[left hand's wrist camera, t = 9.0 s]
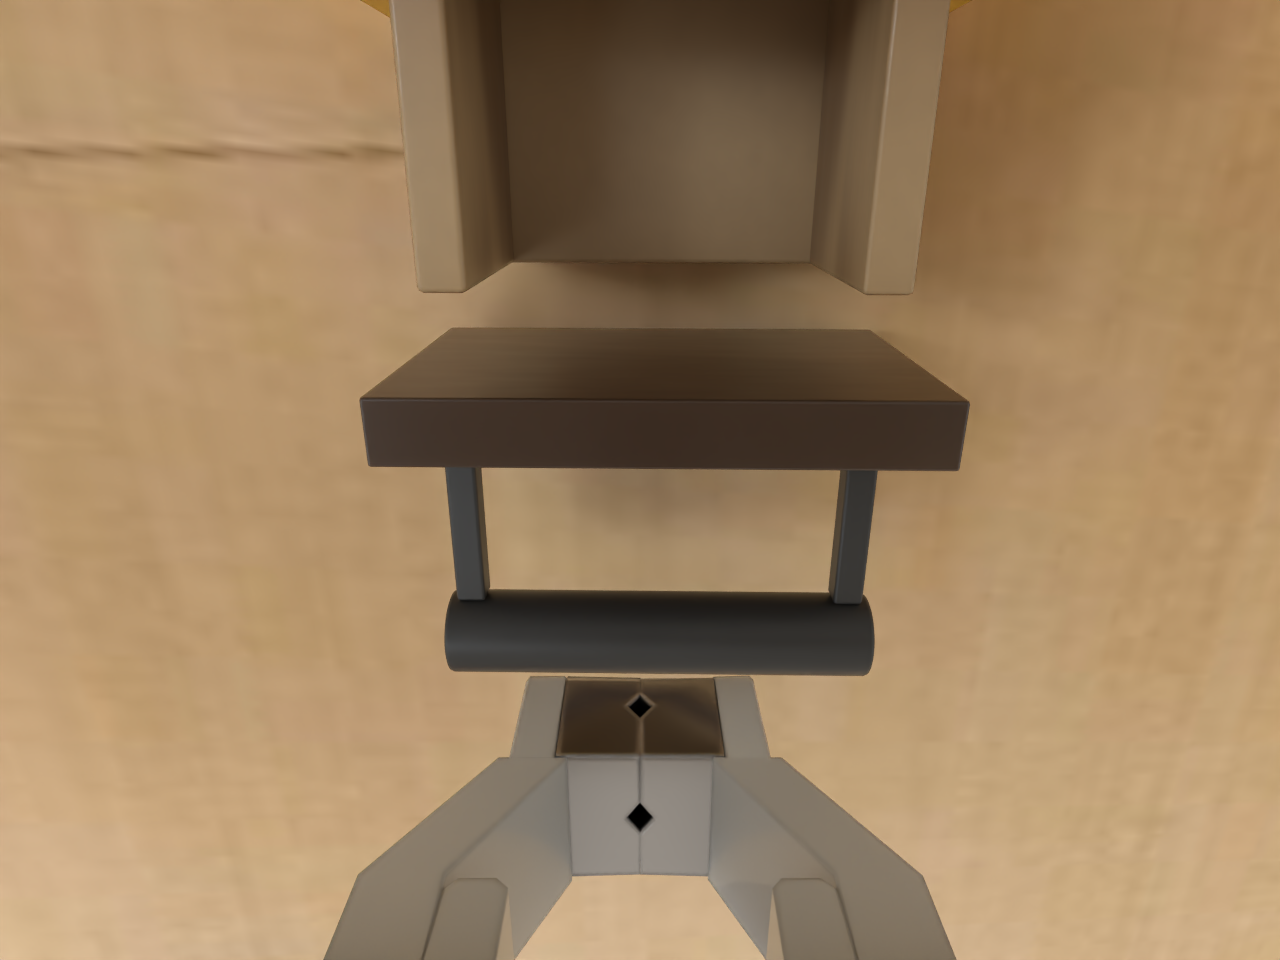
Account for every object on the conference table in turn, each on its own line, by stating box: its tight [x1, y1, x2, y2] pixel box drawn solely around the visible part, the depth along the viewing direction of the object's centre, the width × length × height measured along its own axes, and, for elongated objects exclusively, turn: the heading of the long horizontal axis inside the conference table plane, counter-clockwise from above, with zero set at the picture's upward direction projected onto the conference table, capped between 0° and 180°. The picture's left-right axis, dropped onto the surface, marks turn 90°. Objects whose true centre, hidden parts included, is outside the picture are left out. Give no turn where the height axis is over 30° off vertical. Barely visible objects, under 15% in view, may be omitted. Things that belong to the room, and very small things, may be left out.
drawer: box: [360, 0, 970, 676], centre depth 14 cm, size 20×10×6 cm, turn 0°
